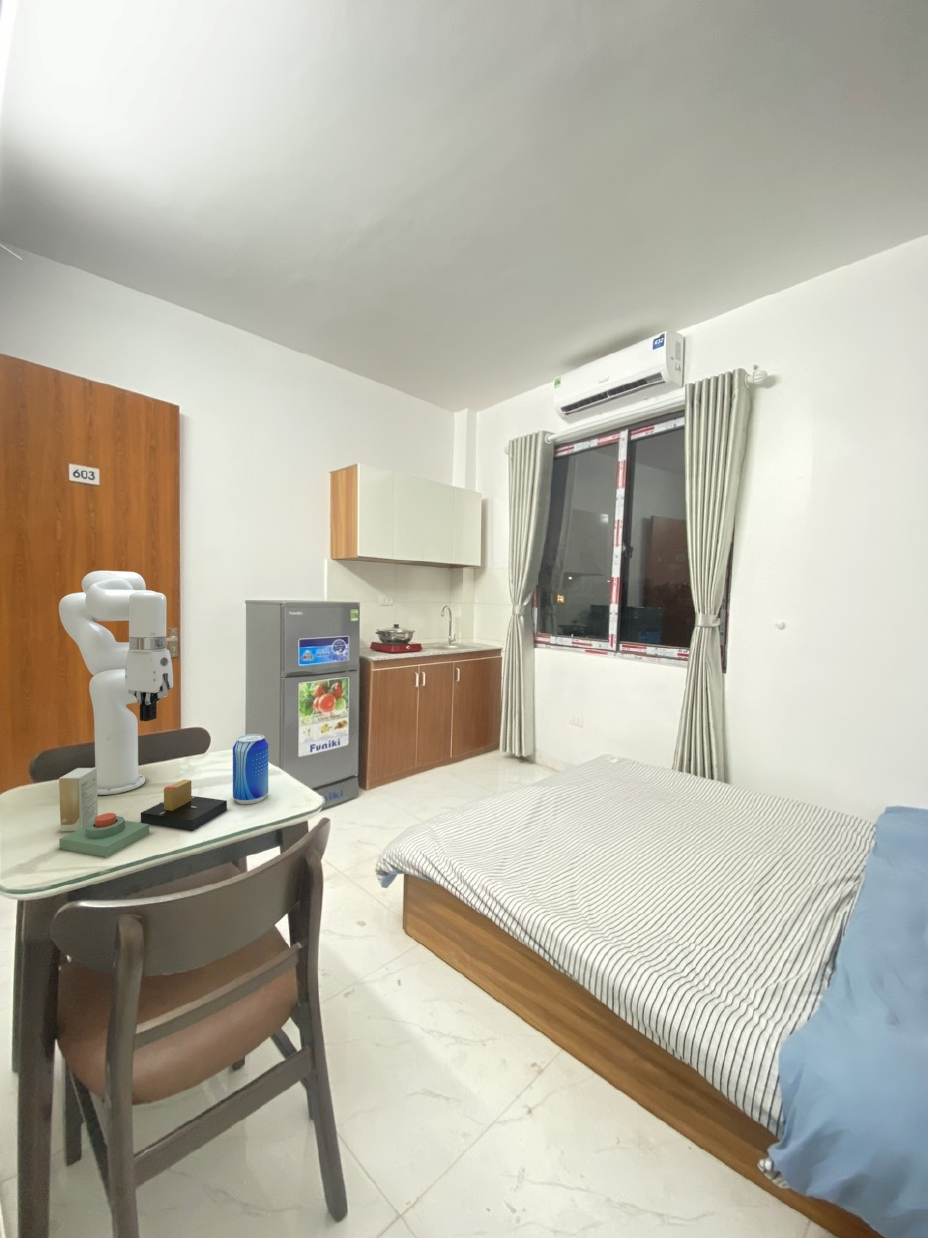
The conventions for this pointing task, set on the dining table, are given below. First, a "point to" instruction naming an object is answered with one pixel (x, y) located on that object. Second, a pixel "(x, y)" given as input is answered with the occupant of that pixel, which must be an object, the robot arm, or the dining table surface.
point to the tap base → (185, 814)
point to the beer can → (250, 769)
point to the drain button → (105, 820)
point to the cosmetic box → (78, 798)
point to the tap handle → (177, 795)
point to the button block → (104, 837)
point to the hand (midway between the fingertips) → (148, 719)
